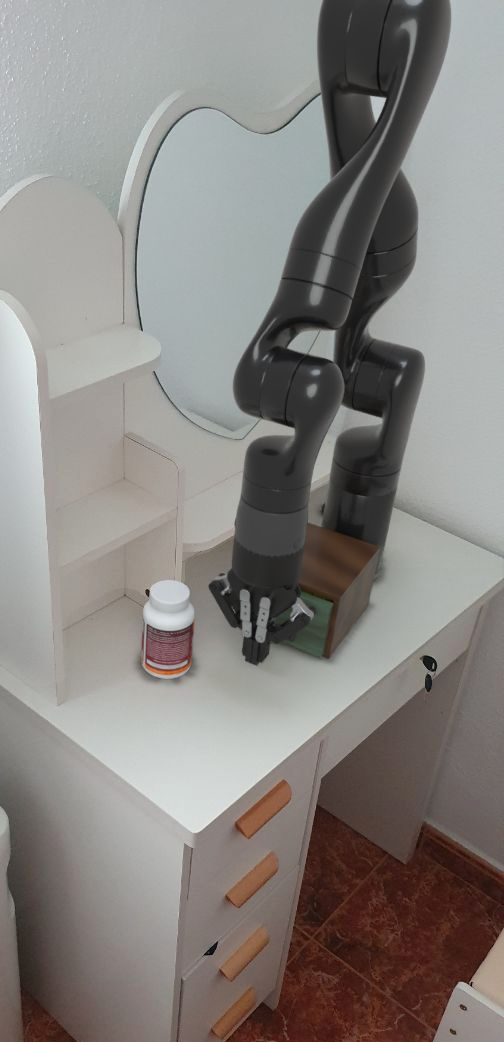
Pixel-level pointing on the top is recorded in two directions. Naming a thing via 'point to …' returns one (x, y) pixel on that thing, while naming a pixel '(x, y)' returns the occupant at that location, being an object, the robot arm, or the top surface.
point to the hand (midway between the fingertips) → (254, 659)
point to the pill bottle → (167, 630)
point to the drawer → (310, 626)
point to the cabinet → (338, 577)
